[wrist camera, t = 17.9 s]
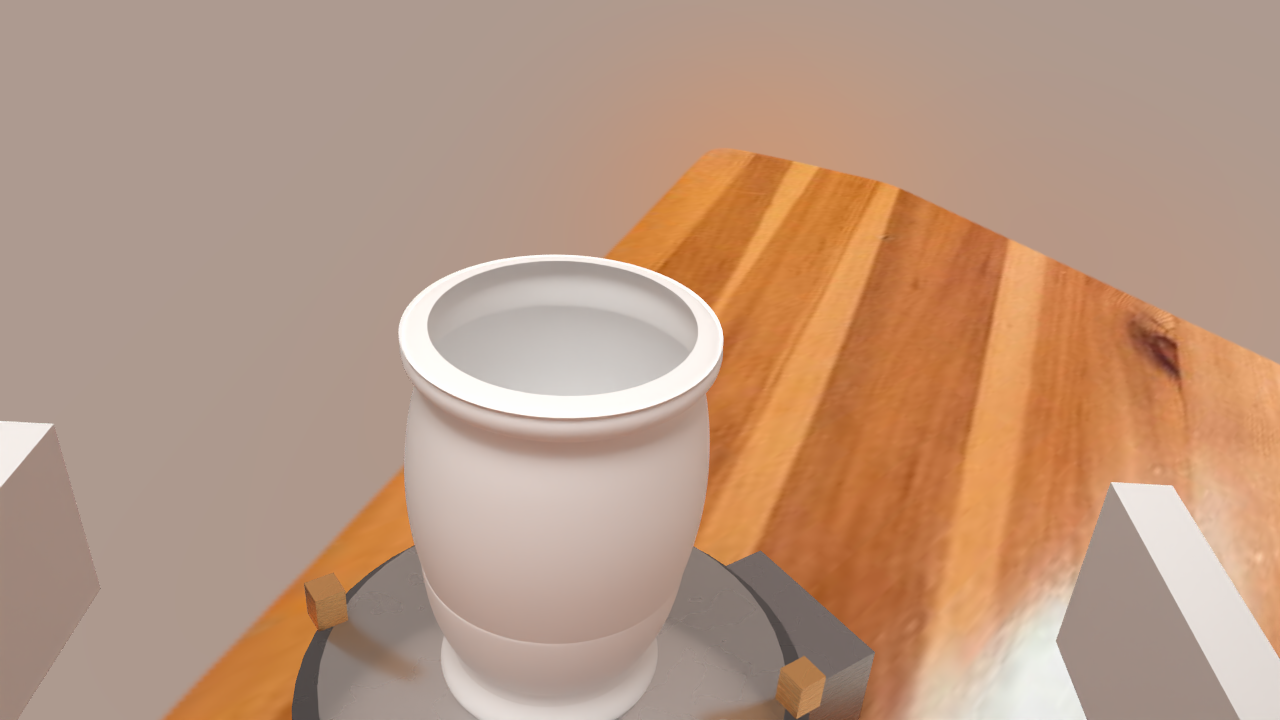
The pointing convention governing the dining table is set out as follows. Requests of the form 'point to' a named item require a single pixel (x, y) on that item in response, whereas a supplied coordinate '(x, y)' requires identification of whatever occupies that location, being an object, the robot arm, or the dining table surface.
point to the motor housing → (687, 643)
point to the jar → (555, 475)
